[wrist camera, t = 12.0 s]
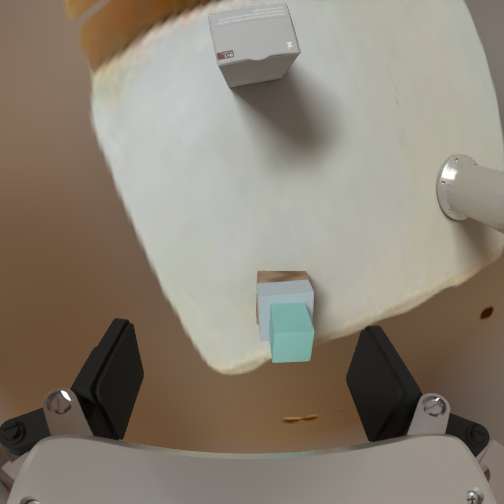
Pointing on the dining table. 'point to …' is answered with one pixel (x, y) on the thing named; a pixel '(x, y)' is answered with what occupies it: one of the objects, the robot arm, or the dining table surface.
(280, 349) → the block
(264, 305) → the tower top
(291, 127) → the dining table surface
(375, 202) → the dining table surface
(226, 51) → the skincare box
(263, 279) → the tower base
